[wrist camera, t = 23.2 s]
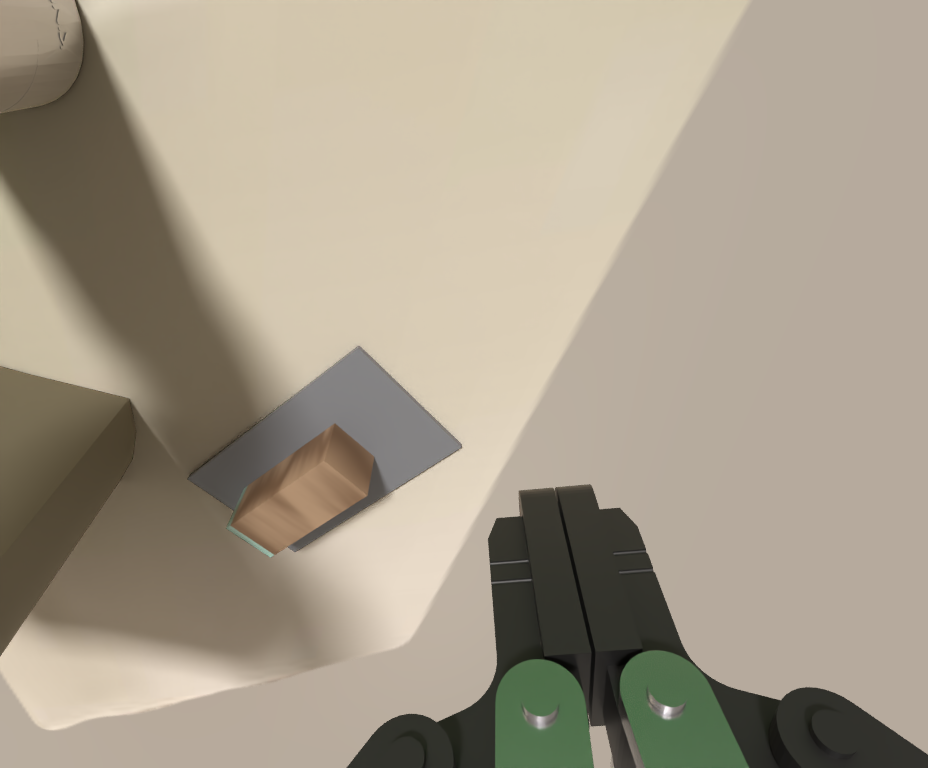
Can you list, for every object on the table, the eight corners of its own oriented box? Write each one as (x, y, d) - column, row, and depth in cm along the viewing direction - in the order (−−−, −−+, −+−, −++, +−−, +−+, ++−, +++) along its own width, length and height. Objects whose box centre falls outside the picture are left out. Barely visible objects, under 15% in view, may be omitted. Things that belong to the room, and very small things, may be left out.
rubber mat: (296, 548, 52) (295, 552, 51) (189, 475, 46) (187, 479, 46) (461, 444, 45) (461, 447, 45) (358, 345, 40) (358, 348, 40)
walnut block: (374, 456, 45) (284, 516, 49) (334, 423, 43) (244, 488, 47) (367, 495, 41) (270, 557, 45) (324, 460, 39) (226, 528, 43)
